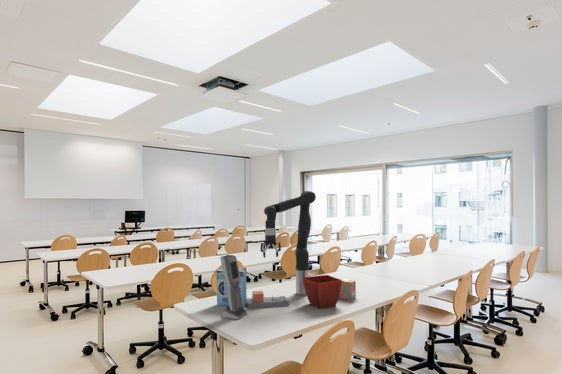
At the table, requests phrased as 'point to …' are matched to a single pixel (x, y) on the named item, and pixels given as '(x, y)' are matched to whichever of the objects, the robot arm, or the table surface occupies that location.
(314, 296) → the plant pot
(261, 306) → the breaker panel
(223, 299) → the gum box
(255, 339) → the table surface
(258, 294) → the cap
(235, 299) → the thermal camera
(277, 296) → the block
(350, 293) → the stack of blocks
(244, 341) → the table surface
